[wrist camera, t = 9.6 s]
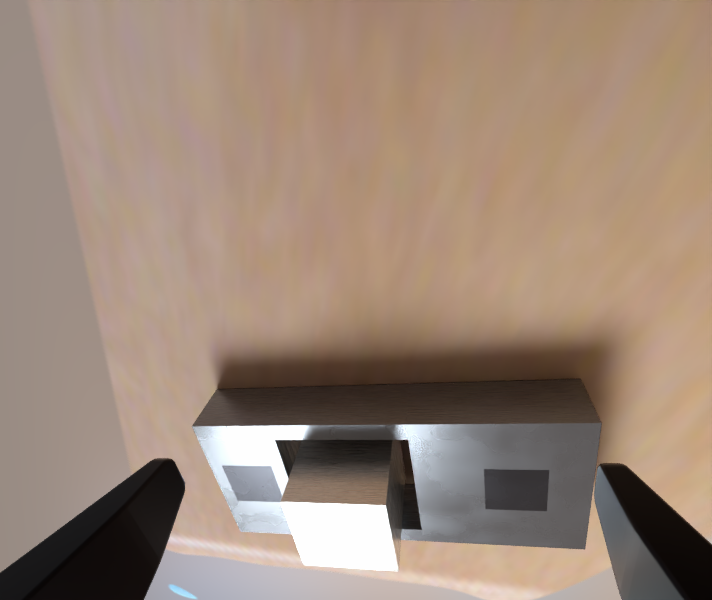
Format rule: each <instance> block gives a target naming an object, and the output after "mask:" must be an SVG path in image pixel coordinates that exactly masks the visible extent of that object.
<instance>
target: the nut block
mask: <svg viewBox="0 0 712 600" xmlns="http://www.w3.org/2000/svg"><path fill="white" fill-rule="evenodd" d="M404 486H405V467H404V460H403V454H402V448H401V441H400V440H302V442H301V444H300V447H299V450H298V453H297V456H296V459H295V462H294V464H293V467H292V470H291V473H290V476H289V479H288V481H287V484H286V487H285V490H284V493H283V496H282V499H281V501H280V502H281V505H282V508H283V510H284V513H285V516H286V518H287V521H288V524H289V527H290V529H291V532H292V535H293V537H294V540H295V543H296V546H297V548H298V551H299V554H300V556H301V559H302V562H303V564H304V565H312V566H327V567H342V568H356V569H371V570H385V571H399V561H400V546H401V531H402V516H403V501H404Z"/></svg>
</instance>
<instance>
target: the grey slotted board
mask: <svg viewBox="0 0 712 600" xmlns="http://www.w3.org/2000/svg"><path fill="white" fill-rule="evenodd" d="M601 424H602V423H601V421H600V419H599V417H598V414H597V412H596V410H595V408H594V406H593V404H592V402H591V400H590V398H589V395H588V393H587V391H586V389H585V387H584V385H583V383H582V381H581V379H561V380H527V381H492V382H458V383H423V384H388V385H354V386H319V387H285V388H250V389H217V390H216V391H215V393H214V394H213V396H212V397H211V399H210V400H209V402H208V403H207V405H206V406H205V408H204V409H203V411H202V412H201V414H200V415H199V417H198V418H197V420H196V421H195V423H194V424H193V426H192V428H193V430H194V432H195V434H196V436H197V438H198V441H199V443H200V445H201V447H202V449H203V451H204V453H205V456H206V458H207V460H208V462H209V464H210V466H211V469H212V471H213V473H214V475H215V477H216V479H217V482H218V484H219V486H220V488H221V490H222V492H223V495H224V497H225V499H226V501H227V503H228V505H229V508H230V510H231V512H232V514H233V516H234V518H235V521H236V523H237V525H238V527H239V529H240V531H241V532H260V533H279V534H292V532H291V529H290V527H289V524H288V521H287V518H286V516H285V513H284V510H283V508H282V505H281V502H280V501H281V499H282V496H283V493H284V490H285V487H286V484H287V481H288V479H289V476H290V473H291V470H292V467H293V464H294V462H295V459H296V456H297V453H298V450H299V447H300V444H301V442H302V440H408V442H409V448H410V455H411V462H412V468H413V475H414V481H415V484H405V486H404V501H403V516H402V531H401V540H415V541H434V542H454V543H473V544H492V545H512V546H531V547H550V548H570V549H585V546H586V538H587V531H588V523H589V515H590V508H591V500H592V492H593V485H594V477H595V470H596V462H597V454H598V447H599V439H600V431H601Z"/></svg>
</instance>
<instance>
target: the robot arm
mask: <svg viewBox="0 0 712 600" xmlns="http://www.w3.org/2000/svg"><path fill="white" fill-rule="evenodd" d="M184 492H185V482H184V479H183V477H182V475H181V473H180V472H179V470H178V468H177V466H176V464H175V462H174V461H173V460H172V459H169V458H157V459H153V460H152V461H150V462H149V463H147V464H146V465H145V466H143V467H142V468H141V469H139V470H138V471H137V472H135V473H134V474H133V475H131V476H130V477H129V478H127V479H126V480H125V481H123V482H122V483H121V484H119V485H118V486H117V487H115V488H114V489H112V490H111V491H110V492H108V493H107V494H106V495H104V496H103V497H102V498H100V499H99V500H98V501H96V502H95V503H94V504H92V505H91V506H89V507H88V508H87V509H85V510H84V511H83V512H82V513H80V514H79V515H77V516H76V517H75V518H73V519H72V520H71V521H69V522H68V523H67V524H65V525H64V526H63V527H61V528H60V529H59V530H57V531H56V532H55V533H53V534H52V535H50V536H49V537H48V538H46V539H45V540H44V541H42V542H41V543H40V544H38V545H37V546H36V547H34V548H33V549H32V550H30V551H29V552H28V553H26V554H25V555H23V556H22V557H21V558H19V559H18V560H17V561H16V562H14V563H13V564H11V565H10V566H9V567H7V568H6V569H5V570H3V571H2V572H0V600H144V598H145V596H146V594H147V592H148V589H149V587H150V585H151V583H152V580H153V578H154V576H155V574H156V571H157V569H158V566H159V564H160V562H161V559H162V556H163V553H164V551H165V548H166V545H167V542H168V539H169V537H170V534H171V531H172V528H173V525H174V522H175V519H176V516H177V513H178V510H179V507H180V504H181V502H182V499H183V496H184ZM594 497H595V504H596V508H597V512H598V516H599V519H600V523H601V527H602V531H603V534H604V538H605V542H606V546H607V549H608V553H609V557H610V560H611V564H612V568H613V571H614V575H615V579H616V582H617V586H618V589H619V593H620V596H621V599H622V600H712V544H711V543H710V542H709V541H707V540H706V539H705V538H704V537H703V536H702V535H701V534H700V533H699V532H698V531H697V530H696V529H694V528H693V527H692V526H691V525H690V524H689V523H688V522H687V521H686V520H685V519H684V518H683V517H681V516H680V515H679V514H678V513H677V512H676V511H675V510H674V509H673V508H672V507H671V506H670V505H668V504H667V503H666V502H665V501H664V500H663V499H662V498H661V497H660V496H659V495H658V494H656V493H655V492H654V491H653V490H652V489H651V488H650V487H649V486H648V485H647V484H646V483H645V482H643V481H642V480H641V479H640V478H639V477H638V476H637V475H636V474H635V473H634V472H633V471H632V470H630V469H629V468H628V467H627V466H625V465H624V464H620V463H602V464H600V465H599V466H598V469H597V476H596V483H595V491H594Z"/></svg>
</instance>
